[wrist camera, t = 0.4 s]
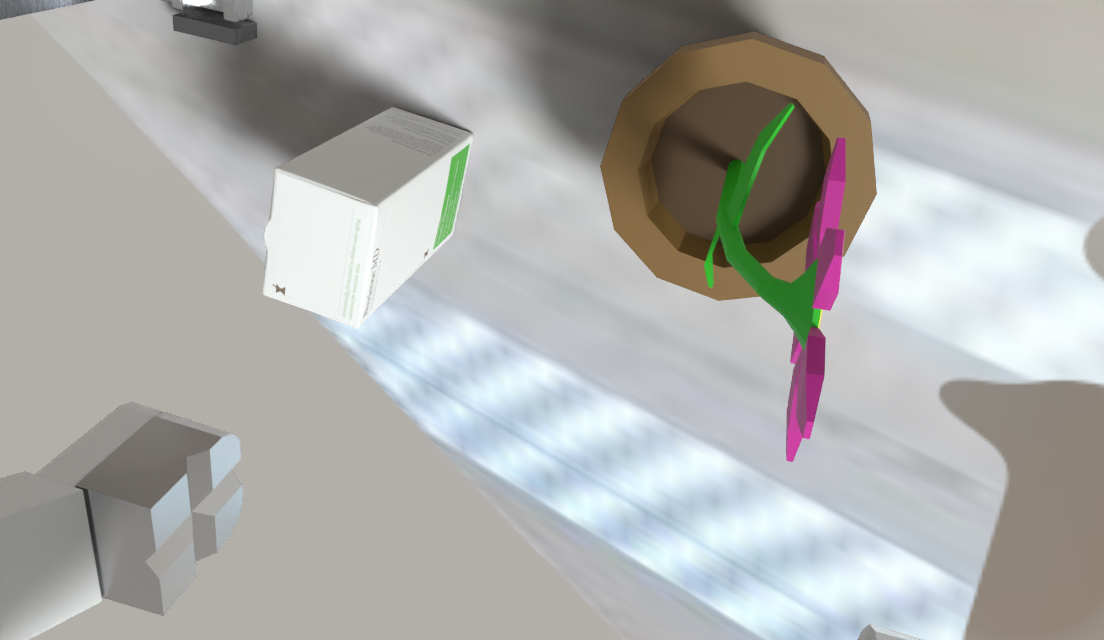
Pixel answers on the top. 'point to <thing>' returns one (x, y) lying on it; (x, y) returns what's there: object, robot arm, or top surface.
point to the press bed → (33, 6)
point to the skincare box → (363, 213)
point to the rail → (216, 20)
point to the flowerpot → (746, 185)
